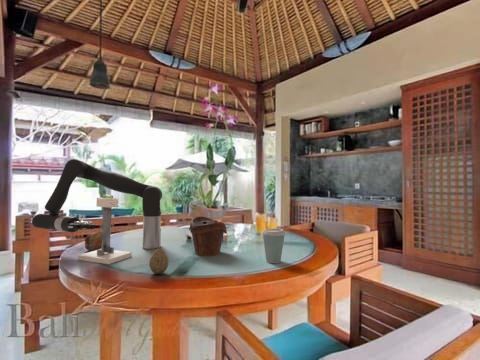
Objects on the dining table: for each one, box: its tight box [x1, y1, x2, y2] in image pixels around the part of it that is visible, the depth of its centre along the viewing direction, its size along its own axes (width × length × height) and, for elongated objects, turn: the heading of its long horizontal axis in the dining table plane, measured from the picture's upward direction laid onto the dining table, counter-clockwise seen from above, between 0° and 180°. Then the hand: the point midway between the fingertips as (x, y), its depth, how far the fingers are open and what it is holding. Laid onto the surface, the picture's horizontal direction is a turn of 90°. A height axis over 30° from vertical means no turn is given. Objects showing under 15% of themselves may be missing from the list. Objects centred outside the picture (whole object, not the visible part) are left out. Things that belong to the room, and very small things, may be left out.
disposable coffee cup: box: [261, 227, 286, 264], centre depth 130 cm, size 11×11×15 cm
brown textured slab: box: [84, 231, 102, 251], centre depth 148 cm, size 15×3×8 cm, turn 179°
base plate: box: [77, 246, 132, 265], centre depth 131 cm, size 18×14×4 cm
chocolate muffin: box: [188, 216, 228, 257], centre depth 144 cm, size 18×20×18 cm
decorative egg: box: [149, 247, 169, 275], centre depth 110 cm, size 7×7×10 cm
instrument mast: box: [95, 194, 119, 253], centre depth 131 cm, size 8×5×26 cm, turn 70°
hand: (93, 226), depth 133 cm, fingers closed
